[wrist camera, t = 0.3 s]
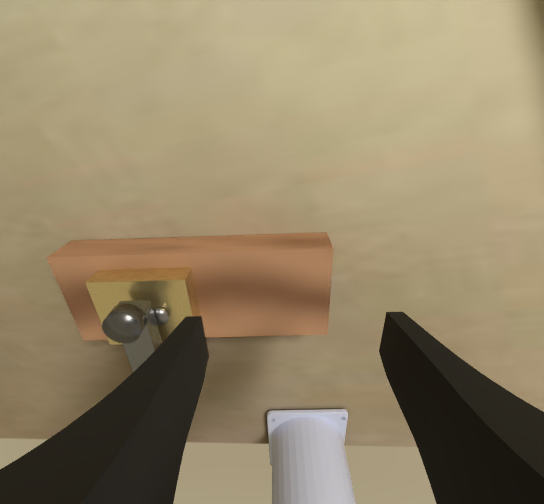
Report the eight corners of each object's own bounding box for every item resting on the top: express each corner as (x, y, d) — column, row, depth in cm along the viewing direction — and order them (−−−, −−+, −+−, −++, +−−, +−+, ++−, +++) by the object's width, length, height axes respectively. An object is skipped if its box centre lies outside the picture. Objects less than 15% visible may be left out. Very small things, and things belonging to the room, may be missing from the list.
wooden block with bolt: (202, 327, 21) (196, 346, 19) (120, 329, 21) (106, 349, 19) (191, 266, 19) (182, 283, 17) (98, 269, 19) (81, 286, 17)
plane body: (319, 353, 25) (328, 398, 22) (117, 358, 26) (90, 403, 22) (326, 232, 20) (339, 263, 16) (70, 240, 20) (24, 272, 17)
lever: (183, 398, 22) (174, 428, 20) (151, 399, 22) (139, 429, 20) (153, 290, 17) (138, 314, 15) (113, 291, 17) (93, 315, 15)
